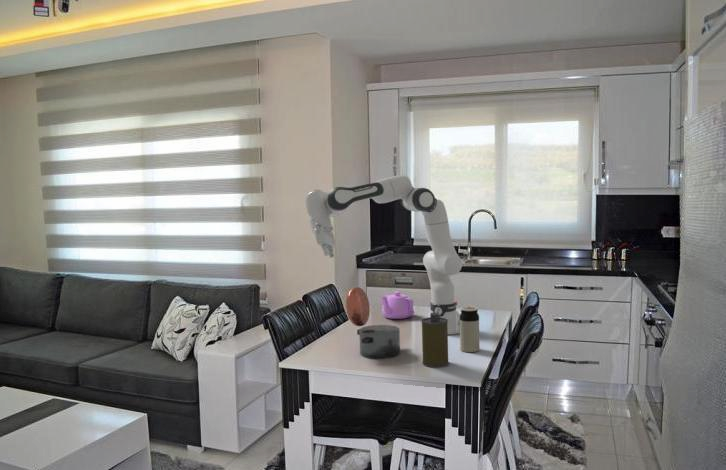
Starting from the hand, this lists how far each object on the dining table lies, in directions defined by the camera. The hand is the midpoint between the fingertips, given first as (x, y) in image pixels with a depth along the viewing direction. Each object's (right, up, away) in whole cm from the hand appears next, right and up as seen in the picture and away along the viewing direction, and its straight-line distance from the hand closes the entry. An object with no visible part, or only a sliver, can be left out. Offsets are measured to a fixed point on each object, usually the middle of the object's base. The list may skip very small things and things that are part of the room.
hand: (329, 256), depth 241 cm
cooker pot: (+22, -41, -5) cm, 46 cm away
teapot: (+32, -36, +60) cm, 77 cm away
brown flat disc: (+13, -21, -2) cm, 25 cm away
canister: (+43, -41, -22) cm, 64 cm away
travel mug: (+60, -40, -6) cm, 72 cm away
